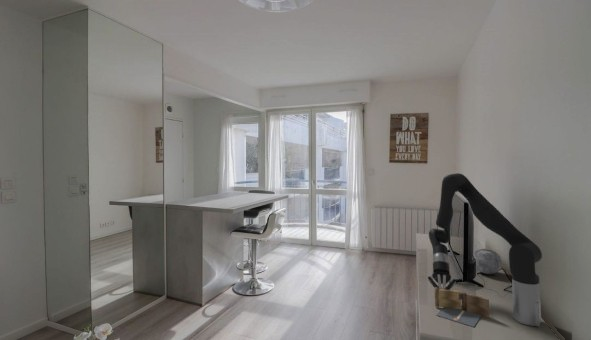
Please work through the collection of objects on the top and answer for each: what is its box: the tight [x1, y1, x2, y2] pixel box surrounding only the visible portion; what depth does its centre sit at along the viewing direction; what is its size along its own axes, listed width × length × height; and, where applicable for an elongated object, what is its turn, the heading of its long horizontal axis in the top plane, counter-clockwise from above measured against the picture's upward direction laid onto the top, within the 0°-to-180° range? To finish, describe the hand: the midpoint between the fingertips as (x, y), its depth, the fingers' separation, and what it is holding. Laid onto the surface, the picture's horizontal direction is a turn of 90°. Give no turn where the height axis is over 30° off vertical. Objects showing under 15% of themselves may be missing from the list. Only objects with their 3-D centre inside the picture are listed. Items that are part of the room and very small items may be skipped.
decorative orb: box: [473, 248, 502, 275], centre depth 181 cm, size 15×14×15 cm
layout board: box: [436, 304, 483, 328], centre depth 135 cm, size 15×17×1 cm
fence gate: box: [434, 287, 462, 309], centre depth 140 cm, size 11×2×9 cm, turn 71°
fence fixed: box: [461, 291, 490, 319], centre depth 135 cm, size 11×2×8 cm, turn 46°
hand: (442, 297), depth 142 cm, fingers closed
